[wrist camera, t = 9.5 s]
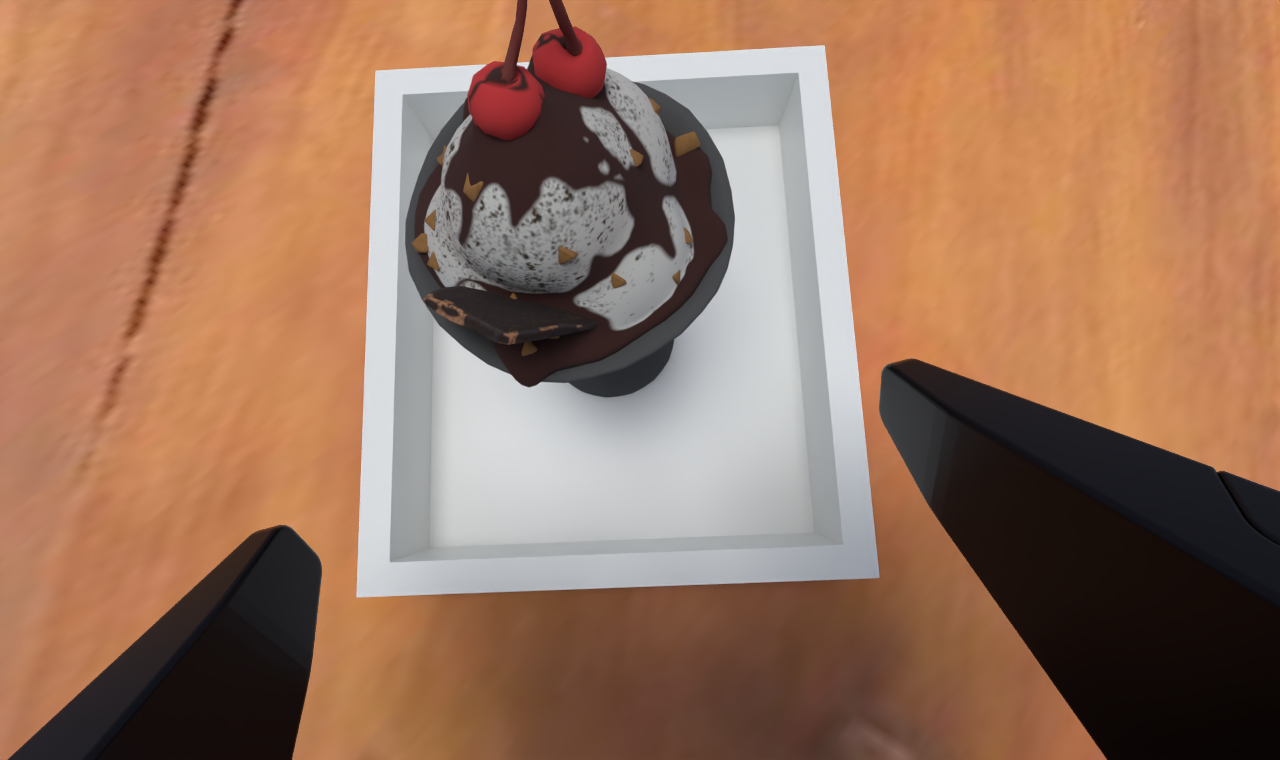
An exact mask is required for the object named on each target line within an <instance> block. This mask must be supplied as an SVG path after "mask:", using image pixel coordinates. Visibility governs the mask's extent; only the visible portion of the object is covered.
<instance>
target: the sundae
mask: <svg viewBox="0 0 1280 760" xmlns="http://www.w3.org/2000/svg"><path fill="white" fill-rule="evenodd" d="M549 1H550V4H551V7H552V9H553V12H554V14H555V17H556V20H557V22H558V25H559V27H560V28H559V29H554V30H550V31H548V32H545V33H542V34H541V36H540V38H539V39H538V41H537V42H536V44H535V45H534V47H533V55H532V57H531V60H530V63H529V65H528V68H527V69H526V68H525V67H523V66H519V65H517V61H518V56H519V52H520V47H521V42H522V37H523V32H524V25H525V18H526V11H527V0H518V2H517V12H516V21H515V25H514V28H513V31H512V35H511V39H510V44H509V48H508V52H507V55H506V59H505V62H496V61H494V62H492V63H490V64H487V65H486V66H485V67H483V68H482V69H481V70H479V71H478V72H477V73H475V74H474V75H473V78H472V81H471V85H470V88H469V91H468V94H467V98H466V99H465V102H464V103H463V104H462V105H461V106H460V107H459V109H458V110H457V111H456V112H455V113H454V115H453V116H452V117H451V118H450V120H449V121H448V122H447V123H446V124H445V126H444V127H443V128H442V129H441V131H440V133H439V134H438V136H437V138H436V139H435V141H434V143H433V144H432V146H431V147H430V149H429V151H428V153H427V155H426V158H425V160H424V163H423V165H422V168H421V170H420V173H419V176H418V178H417V182H416V185H415V188H414V191H413V194H412V197H411V201H410V205H409V209H408V213H407V217H406V224H405V247H406V254H407V262H408V269H409V273H410V275H411V277H412V280H413V282H414V284H415V286H416V288H417V290H418V292H419V295H420V297H421V299H422V300H423V302H424V303H425V305H426V306H427V308H428V309H429V311H430V312H431V314H432V315H433V317H434V318H435V320H436V321H437V323H438V324H439V326H440V327H441V328H443V329H444V330H445V331H446V332H447V333H448V334H449V335H450V336H451V337H453V338H454V339H455V340H456V341H457V342H458V343H459V344H460V345H461V346H463V347H464V348H465V349H466V350H468V351H469V352H471V353H472V354H473V355H475V356H476V357H478V358H479V359H480V360H482V361H483V362H485V363H486V364H487V365H490V366H492V367H494V368H497V369H499V370H501V371H503V372H506V373H508V374H510V375H512V376H513V378H514V379H515V380H516V381H517V382H518V383H520V384H521V385H522V386H526V387H529V388H530V387H533V386H536V385H537V384H539V383H540V382H552V383H569V384H571V385H572V386H574V387H575V388H577V389H578V390H580V391H582V392H585V393H588V394H591V395H594V396H600V397H606V398H608V397H618V396H623V395H628V394H632V393H634V392H636V391H638V390H640V389H642V388H644V387H645V386H647V385H648V384H649V383H651V382H652V381H654V380H655V379H656V377H657V376H658V375H659V374H660V373H661V371H662V370H663V369H664V367H665V365H666V364H667V362H668V361H669V359H670V355H671V352H672V349H673V344H674V339H675V338H677V337H678V336H680V335H681V334H682V333H683V332H684V331H685V330H686V329H687V328H688V327H689V326H690V325H691V324H692V322H693V321H694V320H695V319H696V318H697V317H698V316H699V315H700V314H701V313H702V312H703V311H704V309H705V308H706V307H707V305H708V304H709V303H710V301H711V300H712V299H713V297H714V296H715V294H716V293H717V292H718V290H719V288H720V285H721V283H722V281H723V278H724V276H725V274H726V271H727V269H728V265H729V261H730V257H731V252H732V248H733V241H734V226H735V213H734V206H733V198H732V191H731V187H730V183H729V179H728V175H727V171H726V168H725V164H724V160H723V158H722V156H721V154H720V152H719V151H718V149H717V147H716V145H715V144H714V142H713V140H712V138H711V137H710V135H709V133H708V132H707V130H706V129H705V128H704V127H703V126H702V124H701V123H700V122H699V121H698V120H697V118H696V117H695V116H694V115H693V113H692V112H691V111H690V110H689V109H688V108H686V107H685V106H683V105H682V104H680V103H679V102H677V101H676V100H674V99H672V98H671V97H669V96H668V95H666V94H665V93H662V92H660V91H658V90H656V89H654V88H651V87H649V86H647V85H645V84H641V83H637V82H633V81H631V80H629V79H628V78H626V77H625V76H623V75H622V74H620V73H618V72H615V71H613V70H611V69H608V68H607V62H606V59H605V57H604V54H603V52H602V50H601V48H600V46H599V45H598V44H597V42H596V41H595V39H594V38H593V37H592V36H590V35H589V34H587V33H586V32H584V31H582V30H581V29H579V28H577V27H572V25H571V23H570V20H569V18H568V15H567V12H566V10H565V7H564V5H563V2H562V0H549Z"/></svg>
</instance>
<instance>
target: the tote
mask: <svg viewBox="0 0 1280 760" xmlns="http://www.w3.org/2000/svg"><path fill="white" fill-rule="evenodd" d="M605 59H606V62H607V68H608V69H611V70H613V71H615V72H618V73H620V74H622V75H623V76H625V77H626V78H628V79H629V80H631V81H633V82H637V83H641V84H645V85H647V86H649V87H651V88H654V89H656V90H658V91H660V92H662V93H665V94H666V95H668V96H669V97H671V98H672V99H674V100H676V101H677V102H679V103H680V104H682V105H683V106H685V107H686V108H688V109H689V110H690V111H691V112H692V113H693V115H694V116H695V117H696V118H697V120H698V121H699V122H700V123H701V124H702V126H703V127H704V128H705V129H706V130H707V132H708V133H709V135H710V137H711V138H712V140H713V142H714V144H715V145H716V147H717V149H718V151H719V152H720V154H721V156H722V158H723V160H724V164H725V168H726V171H727V175H728V179H729V183H730V187H731V191H732V198H733V206H734V213H735V226H734V241H733V248H732V252H731V257H730V261H729V265H728V269H727V271H726V274H725V276H724V278H723V281H722V283H721V285H720V288H719V290H718V292H717V293H716V294H715V296H714V297H713V299H712V300H711V301H710V303H709V304H708V305H707V307H706V308H705V309H704V311H703V312H702V313H701V314H700V315H699V316H698V317H697V318H696V319H695V320H694V321H693V322H692V324H691V325H690V326H689V327H688V328H687V329H686V330H685V331H684V332H683V333H682V334H681V335H680V336H678V337H677V338H675V339H674V344H673V349H672V352H671V355H670V359H669V361H668V362H667V364H666V365H665V367H664V369H663V370H662V371H661V373H660V374H659V375H658V376H657V377H656V379H655V380H654V381H652V382H651V383H649V384H648V385H647V386H645V387H644V388H642V389H640V390H638V391H636V392H634V393H632V394H628V395H623V396H618V397H608V398H606V397H600V396H594V395H591V394H588V393H585V392H582V391H580V390H578V389H577V388H575V387H574V386H572V385H571V384H569V383H552V382H540V383H539V384H537V385H536V386H533V387H530V388H529V387H526V386H522V385H521V384H520V383H518V382H517V381H516V380H515V379H514V378H513V376H512V375H510V374H508V373H506V372H503V371H501V370H499V369H497V368H494V367H492V366H490V365H487V364H486V363H485V362H483V361H482V360H480V359H479V358H478V357H476V356H475V355H473V354H472V353H471V352H469V351H468V350H466V349H465V348H464V347H463V346H461V345H460V344H459V343H458V342H457V341H456V340H455V339H454V338H453V337H451V336H450V335H449V334H448V333H447V332H446V331H445V330H444V329H443V328H441V327H440V326H439V324H438V323H437V321H436V320H435V318H434V317H433V315H432V314H431V312H430V311H429V309H428V308H427V306H426V305H425V303H424V302H423V300H422V299H421V297H420V295H419V292H418V290H417V288H416V286H415V284H414V282H413V280H412V277H411V275H410V273H409V269H408V262H407V254H406V247H405V224H406V217H407V213H408V209H409V205H410V201H411V197H412V194H413V191H414V188H415V185H416V182H417V178H418V176H419V173H420V170H421V168H422V165H423V163H424V160H425V158H426V155H427V153H428V151H429V149H430V147H431V146H432V144H433V143H434V141H435V139H436V138H437V136H438V134H439V133H440V131H441V129H442V128H443V127H444V126H445V124H446V123H447V122H448V121H449V120H450V118H451V117H452V116H453V115H454V113H455V112H456V111H457V110H458V109H459V107H460V106H461V105H462V104H463V103H464V102H465V99H466V98H467V94H468V91H469V88H470V85H471V81H472V78H473V75H474V74H475V73H477V72H478V71H479V70H481V69H482V68H483V67H485V66H486V65H469V66H452V67H434V68H416V69H398V70H381V71H376V74H375V101H374V129H373V156H372V184H371V212H370V239H369V267H368V294H367V322H366V350H365V377H364V405H363V432H362V460H361V488H360V515H359V543H358V571H357V597H380V596H407V595H434V594H461V593H488V592H515V591H542V590H569V589H596V588H623V587H650V586H678V585H705V584H732V583H759V582H786V581H813V580H840V579H867V578H880V576H879V567H878V557H877V547H876V538H875V528H874V518H873V509H872V499H871V489H870V480H869V470H868V460H867V451H866V441H865V431H864V422H863V412H862V402H861V393H860V383H859V373H858V364H857V354H856V344H855V335H854V325H853V315H852V305H851V296H850V286H849V276H848V267H847V257H846V247H845V238H844V228H843V218H842V209H841V199H840V189H839V180H838V170H837V160H836V151H835V141H834V131H833V122H832V112H831V102H830V93H829V83H828V73H827V64H826V54H825V45H823V46H805V47H788V48H770V49H752V50H735V51H717V52H699V53H681V54H664V55H646V56H628V57H611V58H605ZM529 63H530V62H522V63H517V65H519V66H523V67H525V68H526V69H527V68H528V65H529Z"/></svg>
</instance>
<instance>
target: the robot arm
mask: <svg viewBox="0 0 1280 760" xmlns="http://www.w3.org/2000/svg"><path fill="white" fill-rule="evenodd" d="M879 411H880V416H881V419H882V421H883V423H884V425H885V427H886V429H887V431H888V433H889V434H890V436H891V438H892V440H893V442H894V444H895V445H896V447H897V449H898V451H899V453H900V455H901V456H902V458H903V460H904V462H905V464H906V466H907V467H908V469H909V471H910V473H911V475H912V477H913V478H914V480H915V482H916V484H917V486H918V487H919V489H920V491H921V493H922V495H923V496H924V498H925V500H926V502H927V503H928V505H929V507H930V508H931V510H932V511H933V513H934V514H935V516H936V517H937V519H938V520H939V522H940V523H941V525H942V526H943V527H944V529H945V530H946V532H947V533H948V535H949V536H950V537H951V539H952V540H953V542H954V543H955V544H956V546H957V547H958V549H959V550H960V552H961V553H962V554H963V556H964V557H965V559H966V560H967V561H968V563H969V564H970V566H971V567H972V569H973V570H974V571H975V573H976V574H977V576H978V577H979V579H980V580H981V581H982V583H983V584H984V586H985V587H986V588H987V590H988V591H989V593H990V594H991V596H992V597H993V598H994V600H995V601H996V603H997V604H998V605H999V607H1000V608H1001V610H1002V611H1003V613H1004V614H1005V615H1006V617H1007V618H1008V620H1009V621H1010V623H1011V624H1012V625H1013V627H1014V628H1015V630H1016V631H1017V632H1018V634H1019V635H1020V637H1021V638H1022V640H1023V641H1024V642H1025V644H1026V645H1027V647H1028V648H1029V649H1030V651H1031V652H1032V654H1033V655H1034V657H1035V658H1036V659H1037V661H1038V662H1039V664H1040V665H1041V667H1042V668H1043V669H1044V671H1045V672H1046V674H1047V675H1048V676H1049V678H1050V679H1051V681H1052V682H1053V684H1054V685H1055V686H1056V688H1057V689H1058V691H1059V692H1060V693H1061V695H1062V696H1063V698H1064V699H1065V701H1066V702H1067V703H1068V705H1069V706H1070V708H1071V709H1072V710H1073V712H1074V713H1075V715H1076V716H1077V718H1078V719H1079V720H1080V722H1081V723H1082V725H1083V726H1084V728H1085V729H1086V730H1087V732H1088V733H1089V735H1090V736H1091V737H1092V739H1093V740H1094V742H1095V743H1096V745H1097V746H1098V747H1099V749H1100V750H1101V752H1102V753H1103V754H1104V756H1105V757H1106V759H1107V760H1280V491H1277V490H1274V489H1272V488H1269V487H1266V486H1263V485H1260V484H1258V483H1255V482H1252V481H1249V480H1247V479H1244V478H1241V477H1238V476H1236V475H1233V474H1230V473H1228V472H1225V471H1219V472H1216V470H1215V469H1214V468H1213V467H1211V466H1208V465H1205V464H1202V463H1200V462H1197V461H1194V460H1191V459H1189V458H1186V457H1183V456H1180V455H1178V454H1175V453H1172V452H1169V451H1167V450H1164V449H1161V448H1158V447H1156V446H1153V445H1150V444H1147V443H1145V442H1142V441H1139V440H1137V439H1134V438H1131V437H1128V436H1126V435H1123V434H1120V433H1117V432H1115V431H1112V430H1109V429H1106V428H1104V427H1101V426H1098V425H1095V424H1093V423H1090V422H1087V421H1084V420H1082V419H1079V418H1076V417H1073V416H1071V415H1068V414H1065V413H1062V412H1060V411H1057V410H1054V409H1051V408H1049V407H1046V406H1043V405H1041V404H1038V403H1035V402H1032V401H1030V400H1027V399H1024V398H1021V397H1019V396H1016V395H1013V394H1010V393H1008V392H1005V391H1002V390H999V389H997V388H994V387H991V386H988V385H986V384H983V383H980V382H977V381H975V380H972V379H969V378H966V377H964V376H961V375H958V374H956V373H953V372H950V371H947V370H945V369H942V368H939V367H936V366H934V365H931V364H928V363H925V362H923V361H920V360H917V359H906V360H902V361H898V362H894V363H891V364H888V365H886V366H885V367H884V368H883V371H882V376H881V388H880V401H879ZM321 577H322V566H321V562H320V559H319V557H318V555H317V554H316V553H315V552H314V551H313V550H312V549H311V548H310V547H309V546H308V545H307V543H306V542H305V541H304V540H303V539H302V538H301V537H300V536H299V535H298V534H297V533H296V532H295V531H294V530H293V529H292V528H291V527H289V526H286V525H278V526H274V527H270V528H266V529H263V530H259V531H257V532H255V533H253V534H251V535H250V536H249V537H248V538H247V539H246V540H245V541H244V542H243V543H241V544H240V545H239V546H238V547H237V548H236V549H235V550H234V551H233V552H232V553H231V554H230V555H228V556H227V557H226V558H225V559H224V560H223V561H222V562H221V563H220V564H219V565H218V566H217V567H216V568H214V569H213V570H212V571H211V572H210V573H209V574H208V575H207V576H206V577H205V578H204V579H203V580H201V581H200V582H199V583H198V584H197V585H196V586H195V587H194V588H193V589H192V590H191V591H190V592H188V593H187V594H186V595H185V596H184V597H183V598H182V599H181V600H180V601H179V602H178V603H177V604H175V605H174V606H173V607H172V608H171V609H170V610H169V611H168V612H167V613H166V614H165V615H164V616H163V617H161V618H160V619H159V620H158V621H157V622H156V623H155V624H154V625H153V626H152V627H151V628H150V629H148V630H147V631H146V632H145V633H144V634H143V635H142V636H141V637H140V638H139V639H138V640H137V641H135V642H134V643H133V644H132V645H131V646H130V647H129V648H128V649H127V650H126V651H125V652H124V653H122V654H121V655H120V656H119V657H118V658H117V659H116V660H115V661H114V662H113V663H112V664H111V665H110V666H108V667H107V668H106V669H105V670H104V671H103V672H102V673H101V674H100V675H99V676H98V677H97V678H95V679H94V680H93V681H92V682H91V683H90V684H89V685H88V686H87V687H86V688H85V689H84V690H82V691H81V692H80V693H79V694H78V695H77V696H76V697H75V698H74V699H73V700H72V701H71V702H69V703H68V704H67V705H66V706H65V707H64V708H63V709H62V710H61V711H60V712H59V713H58V714H57V715H55V716H54V717H53V718H52V719H51V720H50V721H49V722H48V723H47V724H46V725H45V726H44V727H42V728H41V729H40V730H39V731H38V732H37V733H36V734H35V735H34V736H33V737H32V738H31V739H29V740H28V741H27V742H26V743H25V744H24V745H23V746H22V747H21V748H20V749H19V750H18V751H16V752H15V753H14V754H13V755H12V756H11V757H10V758H9V759H8V760H292V757H293V752H294V747H295V743H296V738H297V734H298V729H299V724H300V720H301V715H302V711H303V706H304V701H305V697H306V692H307V687H308V682H309V677H310V671H311V664H312V657H313V649H314V640H315V631H316V622H317V613H318V604H319V595H320V586H321Z"/></svg>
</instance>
